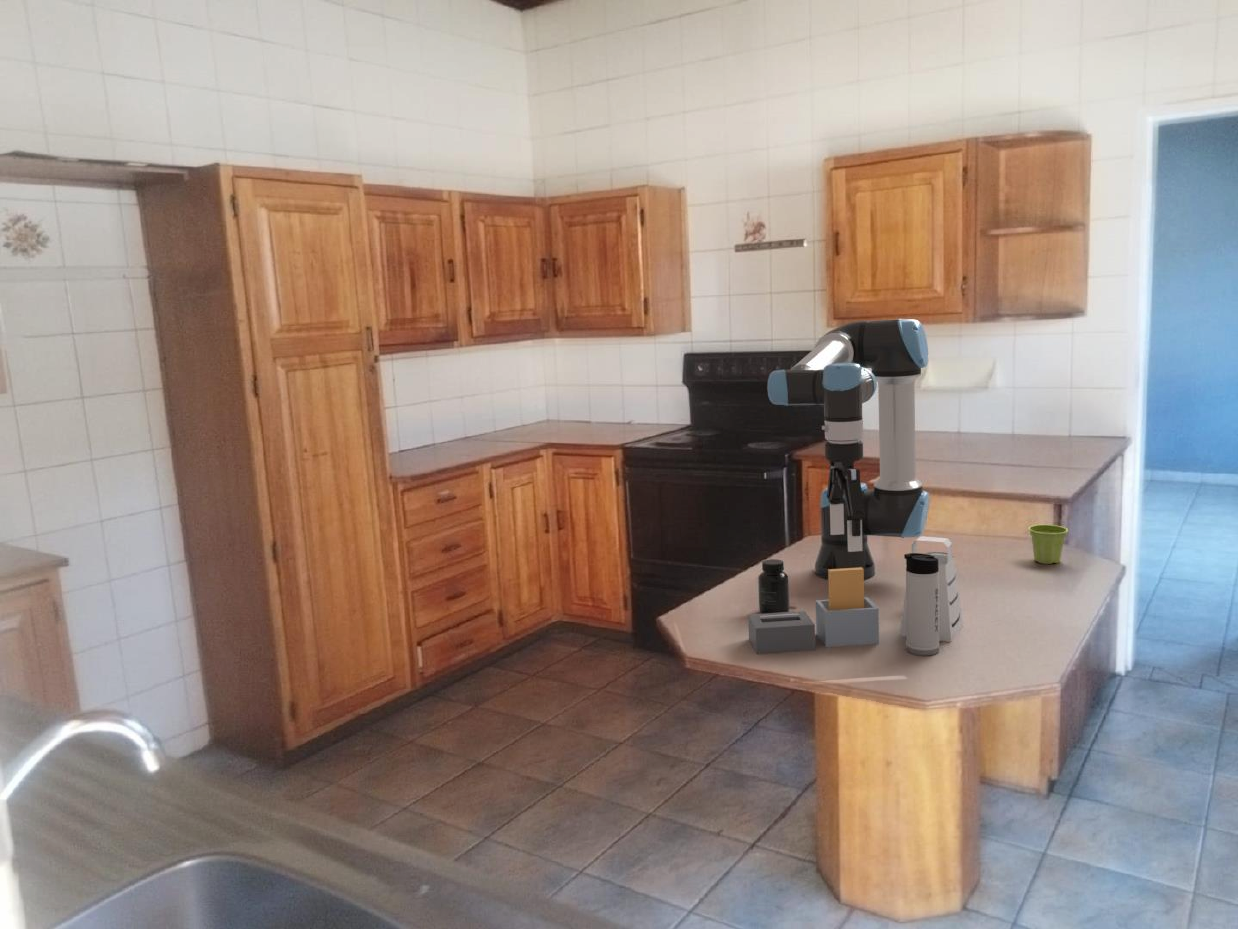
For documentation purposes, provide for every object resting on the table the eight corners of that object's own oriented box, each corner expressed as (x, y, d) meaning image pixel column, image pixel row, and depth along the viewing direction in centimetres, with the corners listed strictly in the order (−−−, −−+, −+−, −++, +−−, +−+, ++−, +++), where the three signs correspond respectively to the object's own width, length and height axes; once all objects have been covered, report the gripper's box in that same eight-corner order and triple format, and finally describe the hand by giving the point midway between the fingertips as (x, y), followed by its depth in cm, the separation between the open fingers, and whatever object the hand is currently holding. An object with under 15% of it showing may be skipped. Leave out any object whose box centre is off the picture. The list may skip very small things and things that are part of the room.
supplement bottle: (771, 605, 230) (769, 556, 228) (795, 611, 225) (793, 560, 223) (753, 613, 225) (751, 562, 223) (777, 619, 220) (775, 567, 218)
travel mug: (900, 646, 199) (899, 551, 196) (931, 644, 199) (931, 549, 196) (911, 657, 193) (911, 559, 189) (944, 654, 193) (944, 556, 190)
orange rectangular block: (831, 641, 202) (829, 571, 200) (829, 638, 204) (828, 569, 202) (864, 639, 203) (863, 569, 200) (862, 636, 204) (861, 567, 202)
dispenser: (756, 656, 197) (755, 626, 196) (749, 641, 206) (748, 612, 205) (815, 653, 198) (814, 622, 197) (805, 638, 207) (804, 608, 206)
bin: (816, 636, 207) (815, 600, 206) (867, 633, 208) (867, 597, 206) (825, 649, 199) (825, 612, 198) (879, 646, 200) (878, 608, 198)
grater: (951, 642, 200) (951, 547, 197) (900, 635, 205) (899, 543, 202) (963, 626, 209) (963, 535, 205) (913, 620, 214) (913, 531, 211)
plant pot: (1069, 558, 255) (1070, 526, 254) (1064, 567, 247) (1064, 534, 246) (1031, 555, 260) (1032, 523, 259) (1024, 564, 252) (1025, 531, 251)
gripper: (810, 432, 209) (813, 529, 212) (841, 451, 184) (844, 560, 188) (845, 430, 209) (847, 526, 213) (880, 449, 184) (882, 557, 188)
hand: (845, 542), depth 200 cm, fingers open, 13 cm apart
